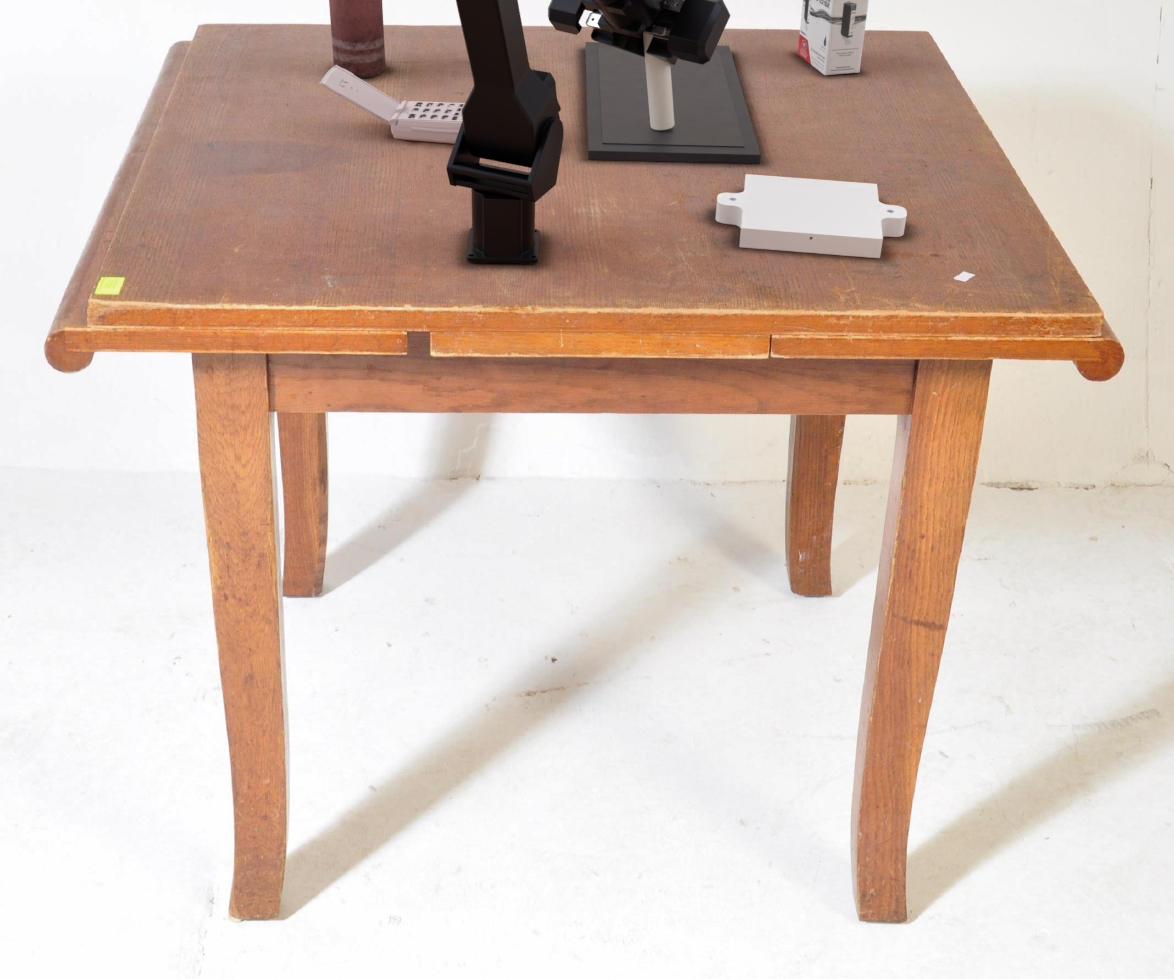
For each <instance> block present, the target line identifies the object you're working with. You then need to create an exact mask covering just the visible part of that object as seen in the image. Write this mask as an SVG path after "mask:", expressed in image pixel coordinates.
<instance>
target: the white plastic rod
mask: <svg viewBox="0 0 1174 979" xmlns="http://www.w3.org/2000/svg"><path fill="white" fill-rule="evenodd" d="M660 1H661V0H660ZM660 10H661V9H660ZM652 38H653V35H652V34H647V33H643V41H644V54H645V66H646V78H647V90H648V102H649V114H650V126H651V128H652V129H654V130H667V129H670V128H672V127H673V126H674V124H675V123H674V109H673V96H672V82H671V68H670V63H667V62H665V61H663V60H661V59H658V58H656V57H654V56H652V55H650V54H647V53H646V51H647V49H648V47H649V44H650V42H651V40H652Z"/></svg>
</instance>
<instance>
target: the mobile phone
mask: <svg viewBox="0 0 1174 979" xmlns="http://www.w3.org/2000/svg"><path fill="white" fill-rule="evenodd" d="M318 85H320V86H321V87H324V88H325V89H327V90H328V91H331V92H332V93H334V94H335V95H337V96H339V97H340V98H342V99H343V100H346V101H347V102H349V103H351V104H352V105H354V106H356V107H358V108H359V109H361V110H363V111H364V112H366V113H367V114H370V115H372V116H373V117H375V118H376V119H379V120H380V121H382V122H383V123H386V124H387V125H389V126H390V132H391V134H392V137H393V139H396V140H404V141H415V142H416V141H417V142H427V143H429V142H430V143H439V144H440V143H441V144H453V145H454V144H455V141H456V138H457V135H458V132H459V129H460V127H461V124H462V121H463V118H462V109H463V107H464V105H465V103H466V102H445V101H444V102H442V101H419V100H418V101H417V100H407V99H404V100H402V101H401V102H400V101H398V100H397V99H395V98H393V97H391V96H390V95H388V94H386V93H385V92H383V91H382V90H380V89H378V88H377V87H375V86H373V85H371V84H370V83H368V82H366V81H365V80H363V79H362V78H358V77H356V76H355V75H354V74H353V73H351V72H349V71H348V70H346V69H344V68H341V67H339V66H337V65H335V66H334V65H333V66H332V67H331V68H329V69H328V71H327V72H326V73H325V74H324V75H323V77H322V78H321V80H320V82H319V83H318Z"/></svg>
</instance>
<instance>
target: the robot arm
mask: <svg viewBox="0 0 1174 979" xmlns="http://www.w3.org/2000/svg"><path fill="white" fill-rule="evenodd" d="M455 3H456V8H457V13H458V18H459V21H460V22H459V23H460V25H461V30H462V34H463V39H464V44H465V48H466V53H467V58H468V63H469V67H470V71H471V76H472V81H473V87H472V89H471V91H470V92H469V95H468V97H467V99H466V101H465V102H464V103H465V105H464V107H463V109H462V118H463V121H462V124H461V127H460V129H459V132H458V135H457V138H456V141H455V144H453V146H452V150H451V153H450V156H449V158H448V161H447V164H446V173H447V178H448V182H449V185H450V186H451V187H452V186H453V187H462V188H467V189H471V192H470V193H471V228H469V232H468V239H467V247H466V253H465V256H466V257H465V260H466V261H467V262H469V263H488V264H489V263H490V264H491V263H494V264H537V263H539V260H540V258H539V256H540V229H538V228H536V203H537V202H538V201H539V200H540V199H541V198H542V197H544V196H545V195H546V194H547V193H548V192H549V191H551V190H552V189H553V188H554V187H555V186H556V185H557V182H558V174H559V167H560V161H561V156H562V150H563V141H564V132H565V130H564V124H563V121H562V120H561V117H560V112H561V110H562V108H561V105H560V103H559V100H558V96H557V84H556V80H555V78H554V76H553V75H552V73H551V72H549V71H543V70H538V69H532V67H531V66H530V61H529V55H528V50H527V45H526V39H525V34H524V28H523V22H522V17H521V11H520V6H519V0H455ZM725 3H726V2H724V0H661V1H660V0H551V1H550V3H549V4H548V7H547V18H548V21H549V23H550V24H551V25H552V27H553V28H554V29H555V31H559V32H563V33H567V34H571V35H574V36H575V35H576V36H577V35H578V34H580V33H581V31H582V28H583V26H582V25H581V23H580V21H581V19H582V17H583V15H584V12H585V11H588V12H590V13H589V15H588V17H587V18H586V21H585V25H586V26H587V27H589V28H591V29H592V32H591V33H590V38H591V40H593V42H600V43H603V44H606V45H609V46H612V47H615V48H618V49H621V50H624V51H627V52H630V53H633V54H636V55H639V56H642V57H644V58H645V54H644V41H643V33H647V34H652V35H653V38H652V40H651V42H650V44H649V47H648V49H647V51H646V53H647V54H650V55H652V56H654V57H656V58H658V59H661V60H663V61H665V62H667V63H670V64H672V65H675V64H676V62H677V59H678V58H679V59H680V60H685V61H689V62H693V63H697V64H701V65H703V64H705V63H707V62H709V61H710V59H711V57H712V55H713V53H714V50H715V48H716V46H717V45H718V44H719V41H720V39H721V37H722V35H723V33H724V31H725V29H726V26H727V24H728V22H729V20H730V18H731V13H730V11H729V9H728V7H727V5H726V4H725ZM660 9H661V10H660ZM480 159H483V160H487V161H493V162H499V163H504V164H509V165H514V166H519V167H523V168H524V167H525V168H528V169H530V171H529V172H528V171H523V170H518V169H515V168H513V169H512V168H508V167H504V166H498V165H493V164H487V163H483V162H481V160H480Z"/></svg>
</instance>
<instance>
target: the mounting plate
mask: <svg viewBox="0 0 1174 979" xmlns="http://www.w3.org/2000/svg"><path fill="white" fill-rule="evenodd" d="M878 191H879V190H878V183H871V182H858V181H857V182H855V181H844V180H830V179H816V178H804V177H792V176H791V177H790V176H777V175H766V174H765V175H763V174H761V175H760V174H750V173H748V174H747V173H745V177H744V188H743V191H740V192H721V193H718V194H717V197H716V205H715V206H716V208H715V221H716V222H717V223H720V224H723V225H734V226H737V227H739V229H740V233H739V246H738V247H739V248H746V249H757V250H769V251H781V252H782V251H783V252H796V253H808V254H820V255H831V256H832V255H833V256H834V255H835V256H844V257H845V256H846V257H859V258H870V259H871V258H872V259H881V253H882V249H883V248H882V247H883V242H884V237H889V238H890V237H891V238H900V237H902V236H904V234H905V228H906V223H907V216H908V214H907V213H908V212H907V209H906V208H905V207H903V206H901V205H897V204H886V203H883V202H881V201H880V199H879V192H878Z"/></svg>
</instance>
